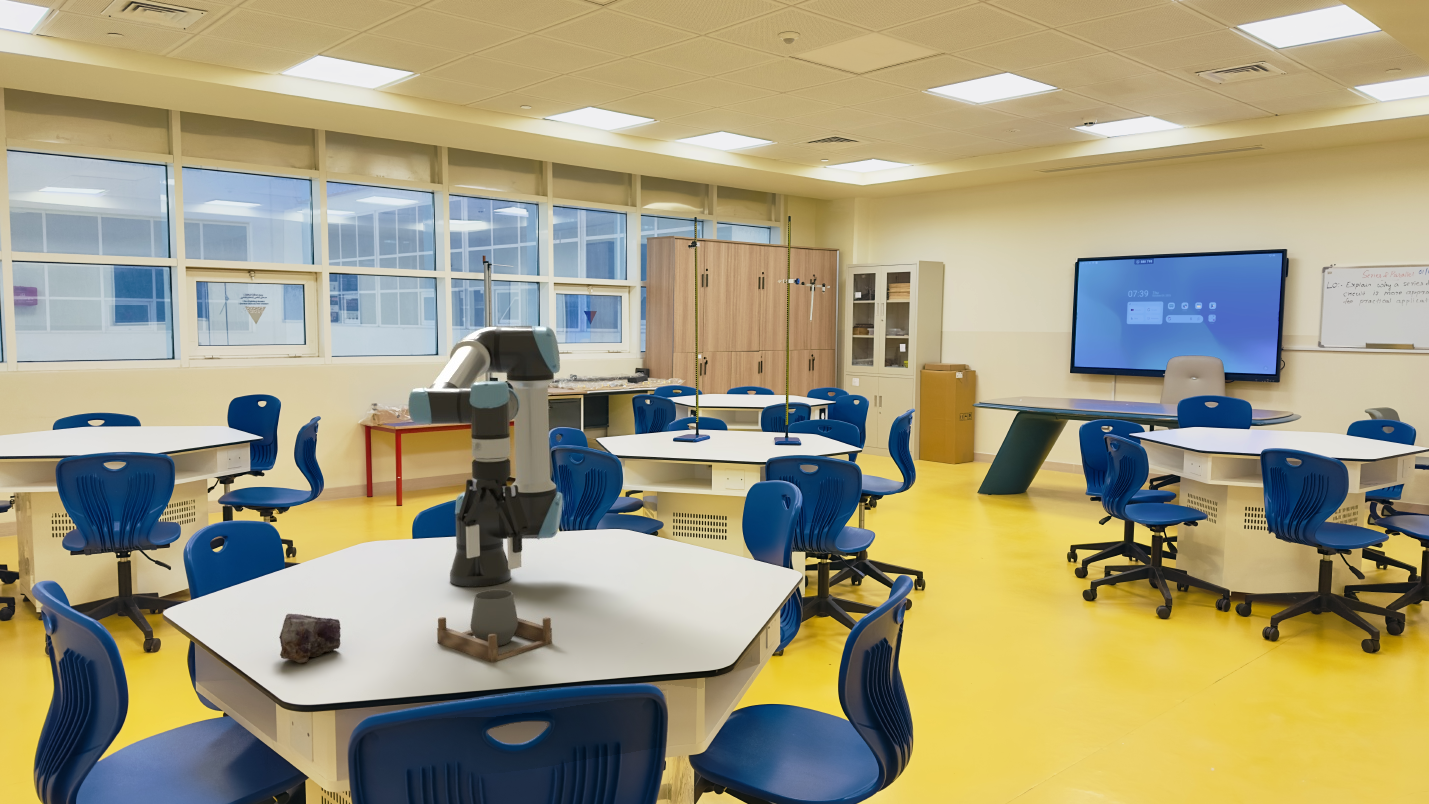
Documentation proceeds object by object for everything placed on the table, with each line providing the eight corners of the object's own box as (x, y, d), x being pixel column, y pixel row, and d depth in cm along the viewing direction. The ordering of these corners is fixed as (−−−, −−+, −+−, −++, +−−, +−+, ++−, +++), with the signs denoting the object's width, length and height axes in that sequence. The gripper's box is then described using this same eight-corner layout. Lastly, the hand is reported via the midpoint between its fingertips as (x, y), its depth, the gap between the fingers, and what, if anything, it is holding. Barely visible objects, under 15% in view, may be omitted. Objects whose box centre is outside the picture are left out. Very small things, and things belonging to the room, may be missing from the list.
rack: (436, 642, 189) (436, 618, 189) (497, 624, 201) (496, 602, 200) (491, 662, 177) (491, 637, 177) (552, 642, 189) (552, 618, 189)
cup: (527, 638, 192) (526, 590, 191) (502, 652, 183) (501, 602, 182) (487, 633, 195) (486, 586, 194) (461, 647, 186) (460, 598, 185)
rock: (344, 659, 183) (314, 648, 189) (350, 616, 183) (319, 606, 189) (289, 667, 173) (259, 656, 179) (295, 621, 174) (265, 611, 179)
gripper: (438, 454, 191) (441, 555, 193) (515, 467, 175) (517, 577, 177) (469, 450, 197) (471, 548, 199) (546, 462, 181) (548, 568, 183)
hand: (493, 562), depth 188 cm, fingers open, 13 cm apart
